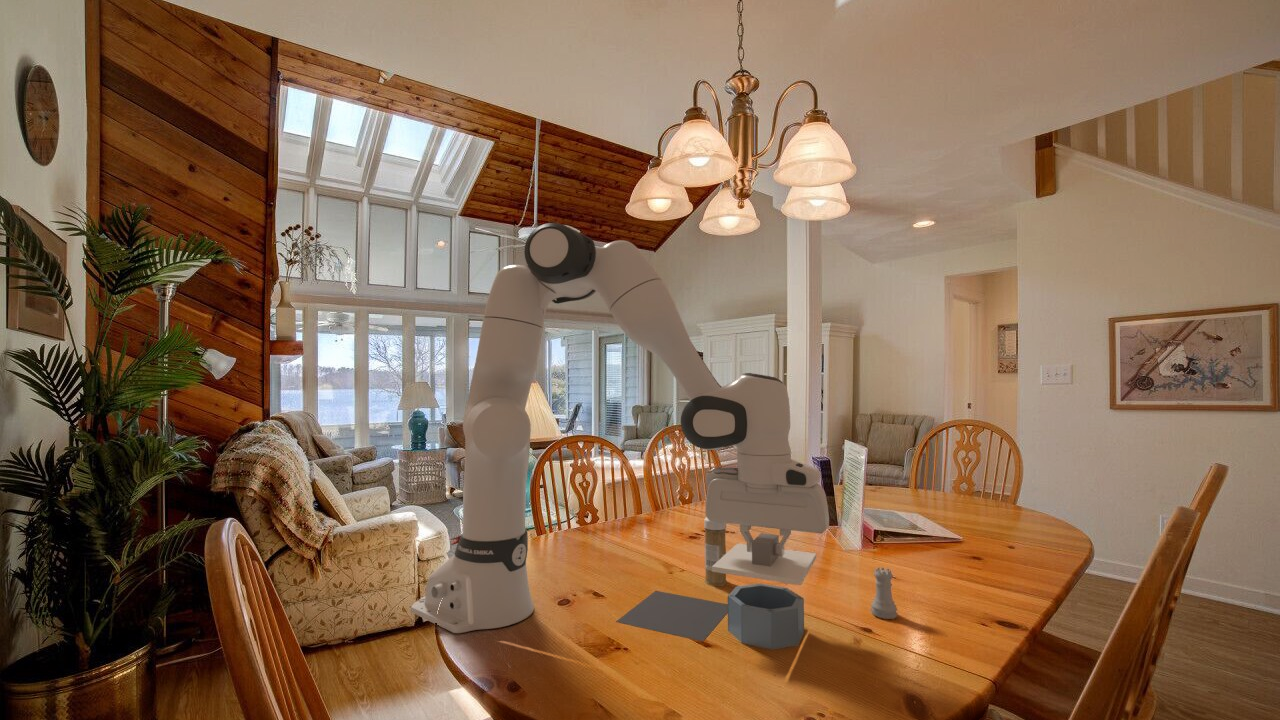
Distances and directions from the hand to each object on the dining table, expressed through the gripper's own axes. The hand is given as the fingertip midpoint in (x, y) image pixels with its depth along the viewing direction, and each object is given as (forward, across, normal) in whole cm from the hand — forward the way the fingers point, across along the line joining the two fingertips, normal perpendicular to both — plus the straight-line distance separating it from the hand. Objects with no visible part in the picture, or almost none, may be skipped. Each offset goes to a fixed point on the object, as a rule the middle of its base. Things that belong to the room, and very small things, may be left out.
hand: (765, 553), depth 91 cm
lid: (+2, 0, 0) cm, 2 cm away
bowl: (+13, 0, 0) cm, 13 cm away
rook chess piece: (+14, +17, +17) cm, 27 cm away
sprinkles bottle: (+13, -15, +18) cm, 27 cm away
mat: (+13, -16, 0) cm, 21 cm away
